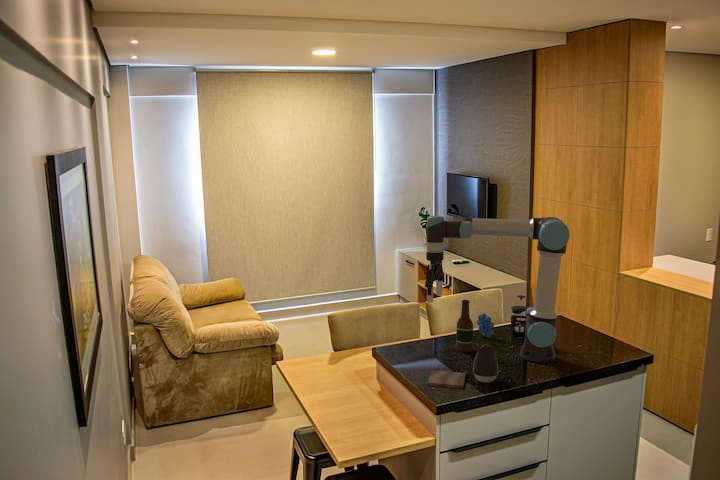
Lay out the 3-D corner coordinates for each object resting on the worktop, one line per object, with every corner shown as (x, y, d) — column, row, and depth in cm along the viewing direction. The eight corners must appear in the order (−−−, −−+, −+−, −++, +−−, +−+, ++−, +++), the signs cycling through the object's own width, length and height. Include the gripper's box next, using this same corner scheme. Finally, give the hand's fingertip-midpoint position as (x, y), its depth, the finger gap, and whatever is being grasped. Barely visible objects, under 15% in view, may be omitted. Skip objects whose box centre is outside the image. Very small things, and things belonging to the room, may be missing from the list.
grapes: (470, 335, 307) (471, 312, 305) (480, 333, 310) (481, 310, 309) (486, 341, 297) (487, 317, 295) (496, 339, 301) (497, 315, 299)
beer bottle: (454, 351, 282) (455, 301, 279) (457, 346, 289) (459, 297, 286) (470, 353, 279) (472, 303, 276) (474, 348, 287) (475, 299, 283)
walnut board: (465, 375, 252) (465, 373, 252) (462, 388, 239) (463, 385, 238) (431, 372, 255) (432, 370, 255) (427, 385, 242) (427, 382, 242)
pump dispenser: (469, 376, 252) (470, 340, 250) (493, 375, 253) (494, 340, 250) (475, 385, 242) (477, 349, 240) (501, 384, 243) (502, 348, 240)
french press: (534, 343, 294) (536, 297, 290) (517, 345, 291) (519, 299, 287) (519, 336, 305) (521, 292, 301) (503, 338, 302) (505, 293, 298)
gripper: (435, 246, 277) (434, 291, 281) (417, 255, 255) (417, 304, 258) (451, 247, 274) (450, 293, 278) (434, 256, 252) (434, 306, 255)
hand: (434, 298), depth 268 cm, fingers open, 13 cm apart
